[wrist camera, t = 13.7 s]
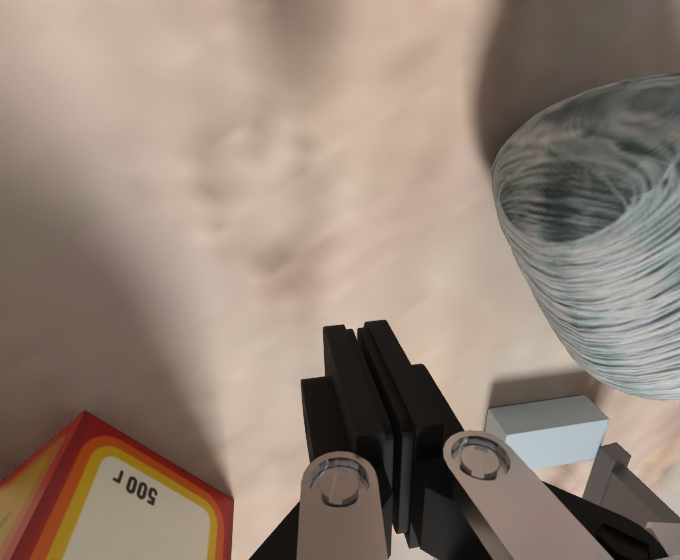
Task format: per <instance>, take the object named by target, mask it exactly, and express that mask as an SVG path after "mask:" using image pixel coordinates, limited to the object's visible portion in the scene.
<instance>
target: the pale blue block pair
mask: <svg viewBox="0 0 680 560" xmlns="http://www.w3.org/2000/svg"><path fill="white" fill-rule="evenodd" d="M609 420H610V419H609V418H608V417H607V416H606V415H605V414H604V413H603V412H602V411H601V410H600V409H599V408H598V407H597V406H596V405H595V404H594V403H593V402H592V401H591V400H590V399H589V398H588V397H587V396H586V395H579V396H573V397H566V398H559V399H552V400H545V401H538V402H531V403H524V404H517V405H511V406H504V407H497V408H490V409H488V414H487V420H486V426H485V433H488V434H492V435H494V436H496V437H497V438H499V439H501V440H503V441H504V442H505V443H506V444H507V445H509V446H510V447H511V448H512V449H513V450H514V452H515V453H516V454H517V455H518V456H519V457H520V458H521V459H522V460H523V461H524V462H525V463H526V465H527V466H528V467H529V468H530V469H531V470H535V469H541V468H547V467H553V466H558V465H564V464H570V463H576V462H582V461H588V460H594V459H595V457H596V454H597V451H598V448H599V447H601V444H602V441H603V438H604V435H605V432H606V429H607V426H608V423H609Z"/></svg>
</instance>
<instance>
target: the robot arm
mask: <svg viewBox="0 0 680 560" xmlns="http://www.w3.org/2000/svg"><path fill="white" fill-rule="evenodd" d="M323 343H324V363H325V376H324V377H317V378H309V379H302V380H301V393H302V405H303V416H304V425H305V433H306V440H307V446H308V453H309V460H310V464H309V465H308V467H307V468H306V470H305V471H304V473H303V477H302V481H301V494H300V501H299V502H298V503H297V505H296V506H295V507H294V508H293V509H292V510H291V512H290V513H289V514H288V515H287V516H286V517H285V518H284V520H283V521H282V522H281V523H280V524H279V525H278V526H277V528H276V529H275V530H274V531H273V532H272V533H271V534H270V536H269V537H268V538H267V539H266V540H265V541H264V542H263V544H262V545H261V546H260V547H259V548H258V549H257V551H256V552H255V553H254V554H253V555H252V556H251V557H250V559H249V560H388V559H389V557H390V555H391V534H392V524H393V527H394V530H395V532H396V533H397V534H400V533H404V535H405V538H406V541H407V544H408V547H409V549H410V548H415V547H420V549H421V550H423V551H425V552H426V553H428V554H430V555H431V556H433V560H680V523H659V522H648V523H647V525H646V528H643V527H642V526H640V525H639V524H637V523H635V522H634V521H632V520H630V519H628V518H626V517H624V516H622V515H620V514H617V513H615V512H613V511H610V510H608V509H606V508H603V507H601V506H599V505H596V504H594V503H592V502H589V501H587V500H585V499H583V498H580V497H578V496H576V495H573V494H571V493H569V492H566V491H564V490H562V489H559V488H557V487H555V486H552V485H550V484H548V483H546V482H543V481H541V480H540V479H539V478H538V477H537V475H536V474H535V473H534V472H533V471H532V470H531V469H530V468H529V467H528V466H527V465H526V463H525V462H524V461H523V460H522V459H521V458H520V457H519V456H518V455H517V454H516V453H515V452H514V450H513V449H512V448H511V447H510V446H509V445H507V444H506V443H505V442H504V441H503V440H501V439H499V438H497V437H496V436H494V435H492V434H488V433H485V432H482V431H472V430H469V431H464V429H463V428H462V426H461V424H460V423H459V421H458V419H457V418H456V416H455V414H454V413H453V411H452V409H451V408H450V406H449V404H448V403H447V401H446V400H445V398H444V396H443V395H442V393H441V391H440V390H439V388H438V386H437V385H436V383H435V381H434V380H433V378H432V376H431V375H430V373H429V372H428V370H427V368H426V367H425V366H424V365H423V364H415V365H411V363H410V362H409V360H408V358H407V356H406V354H405V353H404V351H403V349H402V347H401V346H400V344H399V342H398V340H397V338H396V337H395V335H394V333H393V331H392V330H391V328H390V326H389V324H388V322H387V321H386V320H377V321H369V322H365V323H364V327H363V328H358V330H357V338H356V336H355V334H354V331H353V329H346V328H345V326H344V324H343V325H334V326H325V327H323Z"/></svg>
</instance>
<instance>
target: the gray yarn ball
mask: <svg viewBox="0 0 680 560" xmlns="http://www.w3.org/2000/svg"><path fill="white" fill-rule="evenodd" d="M491 173H492V190H493V196H494V201H495V206H496V210H497V215H498V218H499V222H500V226H501V228H502V230H503V232H504V235H505V237H506V239H507V241H508V243H509V245H510V246H511V249H512V252H513V254H514V256H515V259H516V261H517V263H518V266H519V268H520V270H521V272H522V273H523V275H524V277H525V279H526V280H527V282H528V284H529V286H530V288H531V290H532V292H533V294H534V297H535V299H536V301H537V303H538V304H539V306H540V308H541V310H542V311H543V313H544V315H545V317H546V318H547V320H548V322H549V323H550V325H551V327H552V329H553V330H554V332H555V333H556V335H557V337H558V338H559V340H560V341H561V343H562V344H563V345H564V346H565V348H566V350H567V351H568V353H569V354H570V356H571V357H572V358H573V360H574V361H575V362H577V363H578V364H579V365H580V366H581V367H582V368H583V369H584V370H585V371H586V372H588V373H589V374H590V375H591V376H593V377H594V378H595V379H597V380H599V381H600V382H602V383H604V384H605V385H607V386H610V387H612V388H614V389H617V390H619V391H622V392H624V393H627V394H630V395H633V396H637V397H641V398H645V399H653V400H661V401H671V402H680V73H666V74H653V75H645V76H638V77H632V78H628V79H624V80H620V81H616V82H612V83H608V84H605V85H602V86H598V87H595V88H592V89H589V90H586V91H584V92H582V93H579V94H577V95H575V96H572V97H568V98H566V99H564V100H561V101H559V102H557V103H555V104H553V105H551V106H549V107H547V108H545V109H544V110H542V111H540V112H539V113H537V114H536V115H534V116H533V117H532V118H530V119H529V120H528V121H527V122H526V123H524V124H523V125H522V126H521V127H520V128H519V129H518V130H517V131H516V132H515V133H514V134H513V135H512V136H511V137H510V138H509V139H508V140H507V141H506V142H505V144H504V145H503V146H502V147H501V149H500V150H499V152H498V154H497V156H496V159H495V161H494V163H493V166H492V168H491Z"/></svg>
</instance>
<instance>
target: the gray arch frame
mask: <svg viewBox="0 0 680 560" xmlns="http://www.w3.org/2000/svg"><path fill="white" fill-rule="evenodd" d="M630 458H631V455H630V454H629V453H628V452H627V451H625V450H624V449H623V448H622V447H621V446H620V445H619V444H618V443H617V442H616V443H612V444H608V445H604V446H601V447H599V448H598V451H597V454H596V457H595V460H594V463H593V466H592V469H591V473H590V476H589V479H588V482H587V485H586V488H585V491H584V494H583V497H582V498H583V499H585V500H587V501H589V502H592V503H594V504H596V505H599V506H601V507H603V508H606V509H608V510H610V511H613V512H615V513H617V514H620V515H622V516H624V517H626V518H628V519H630V520H632V521H634V522H635V523H637V524H639V525H640V526H642V527H643V528H646V525H647V523H648V522H659V523H680V517H679V516H678V515H677V514H675V513H674V512H673V511H672V510H671V509H670V508H669V507H668V506H667V505H666V504H665V503H664V502H663V501H662V500H660V498H658V497H657V496H656V495H655V494H654V493H653V492H652V491H651V490H650V489H649V488H648V487H647V486H646V485H645V484H644V483H643V482H642V481H641V480H640V479H638V478H637V477H636V476H635V475H634V474H633V473H632V472H631V471H630V470H629V469H628V468H627V466H628V463H629V461H630Z"/></svg>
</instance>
